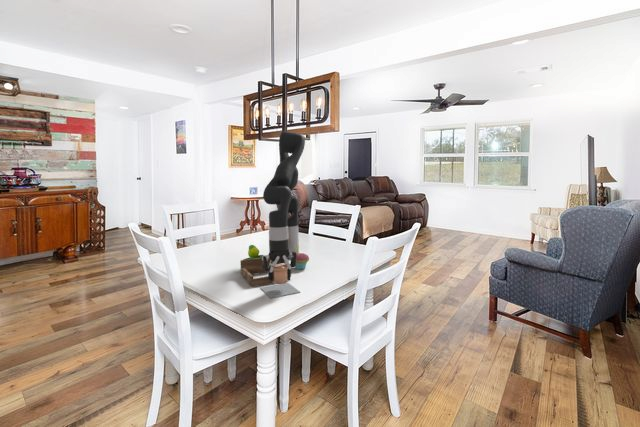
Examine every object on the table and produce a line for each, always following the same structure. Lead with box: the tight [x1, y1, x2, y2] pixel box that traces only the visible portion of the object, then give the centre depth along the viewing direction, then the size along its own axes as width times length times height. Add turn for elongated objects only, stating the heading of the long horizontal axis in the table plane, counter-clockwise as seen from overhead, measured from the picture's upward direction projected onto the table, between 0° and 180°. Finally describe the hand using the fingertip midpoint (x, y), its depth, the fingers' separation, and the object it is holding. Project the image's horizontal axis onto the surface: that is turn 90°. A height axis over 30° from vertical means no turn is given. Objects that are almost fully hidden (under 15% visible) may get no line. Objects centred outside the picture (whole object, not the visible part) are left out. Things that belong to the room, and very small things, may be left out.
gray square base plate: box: [260, 282, 301, 299], centre depth 132 cm, size 12×12×1 cm
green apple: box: [242, 244, 263, 260], centre depth 162 cm, size 11×9×11 cm
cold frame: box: [240, 258, 291, 288], centre depth 148 cm, size 17×17×7 cm
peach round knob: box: [271, 263, 289, 285], centre depth 131 cm, size 7×7×6 cm
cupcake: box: [294, 243, 310, 270], centre depth 162 cm, size 9×8×12 cm
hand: (279, 279), depth 132 cm, fingers closed on peach round knob, 6 cm apart
